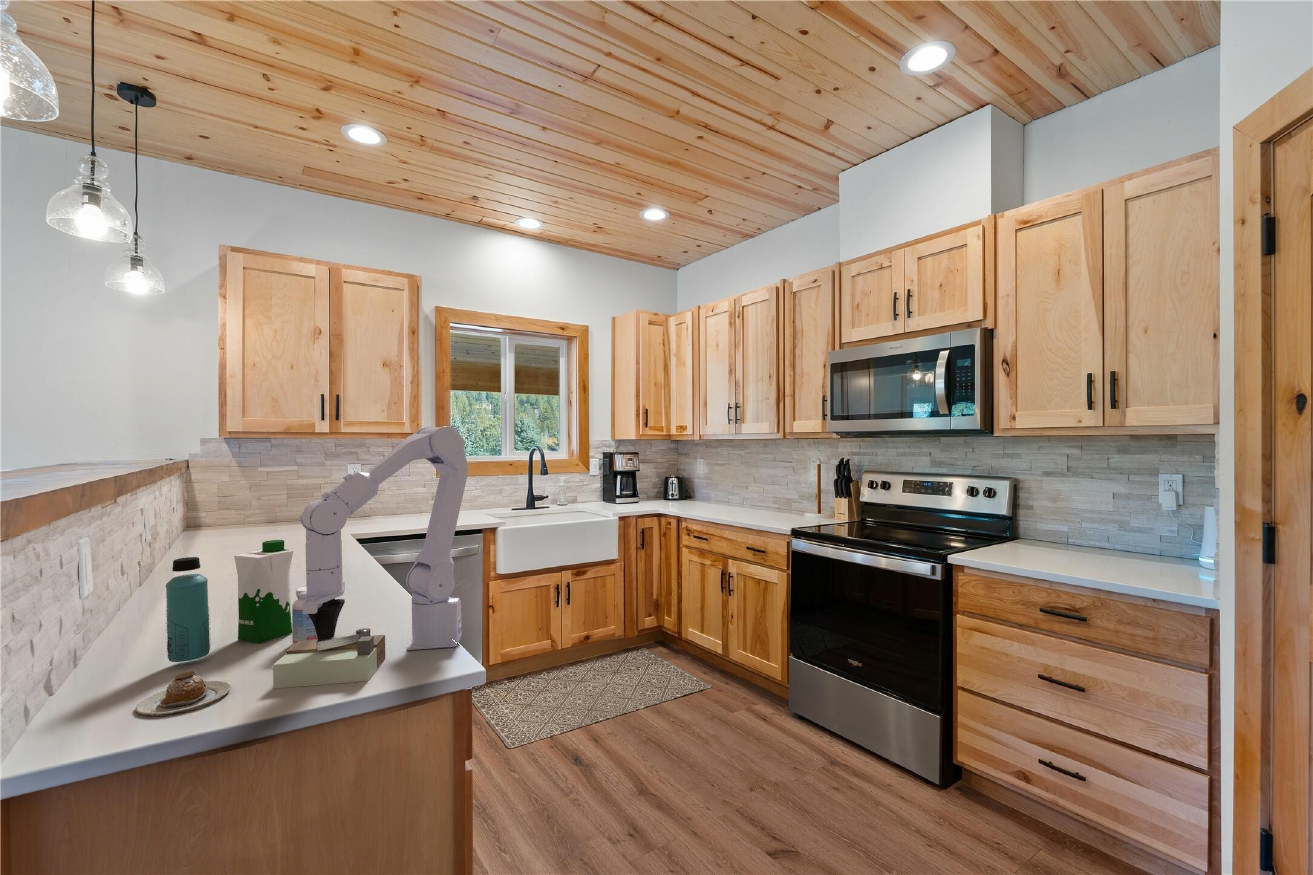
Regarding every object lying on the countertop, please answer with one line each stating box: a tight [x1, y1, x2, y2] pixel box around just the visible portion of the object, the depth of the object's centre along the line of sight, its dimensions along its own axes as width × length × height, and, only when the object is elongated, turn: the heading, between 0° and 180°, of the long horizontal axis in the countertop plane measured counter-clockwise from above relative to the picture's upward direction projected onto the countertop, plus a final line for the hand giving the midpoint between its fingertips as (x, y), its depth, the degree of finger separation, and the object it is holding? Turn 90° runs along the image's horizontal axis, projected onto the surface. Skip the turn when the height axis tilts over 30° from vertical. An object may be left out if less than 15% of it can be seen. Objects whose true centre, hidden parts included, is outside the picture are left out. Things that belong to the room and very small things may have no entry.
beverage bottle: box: [165, 556, 212, 663], centre depth 112 cm, size 6×7×20 cm
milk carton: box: [233, 539, 294, 645], centre depth 127 cm, size 9×9×20 cm
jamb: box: [285, 634, 386, 670], centre depth 109 cm, size 15×6×4 cm, turn 100°
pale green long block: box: [272, 635, 378, 689], centre depth 104 cm, size 15×5×6 cm, turn 100°
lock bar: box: [316, 627, 371, 651], centre depth 107 cm, size 9×2×2 cm, turn 129°
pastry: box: [135, 670, 232, 717], centre depth 96 cm, size 12×12×5 cm
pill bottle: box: [291, 586, 318, 646], centre depth 123 cm, size 6×6×11 cm
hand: (326, 642), depth 107 cm, fingers closed
